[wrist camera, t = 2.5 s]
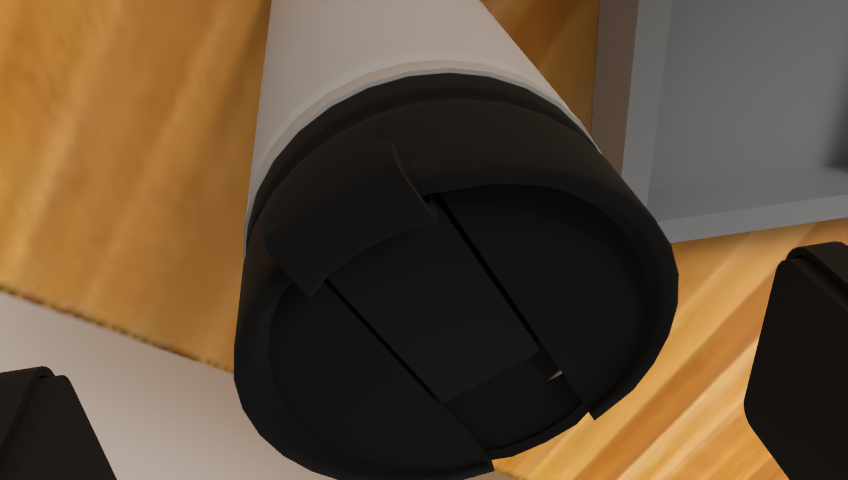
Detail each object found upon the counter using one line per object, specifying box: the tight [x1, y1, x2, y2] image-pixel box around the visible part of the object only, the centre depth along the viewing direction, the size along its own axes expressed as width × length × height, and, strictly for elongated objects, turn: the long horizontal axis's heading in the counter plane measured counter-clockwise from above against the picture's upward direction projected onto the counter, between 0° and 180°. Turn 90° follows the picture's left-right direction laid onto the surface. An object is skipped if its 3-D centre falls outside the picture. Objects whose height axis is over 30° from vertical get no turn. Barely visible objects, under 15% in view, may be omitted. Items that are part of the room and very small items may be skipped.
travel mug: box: [234, 0, 679, 480], centre depth 17 cm, size 6×7×20 cm
